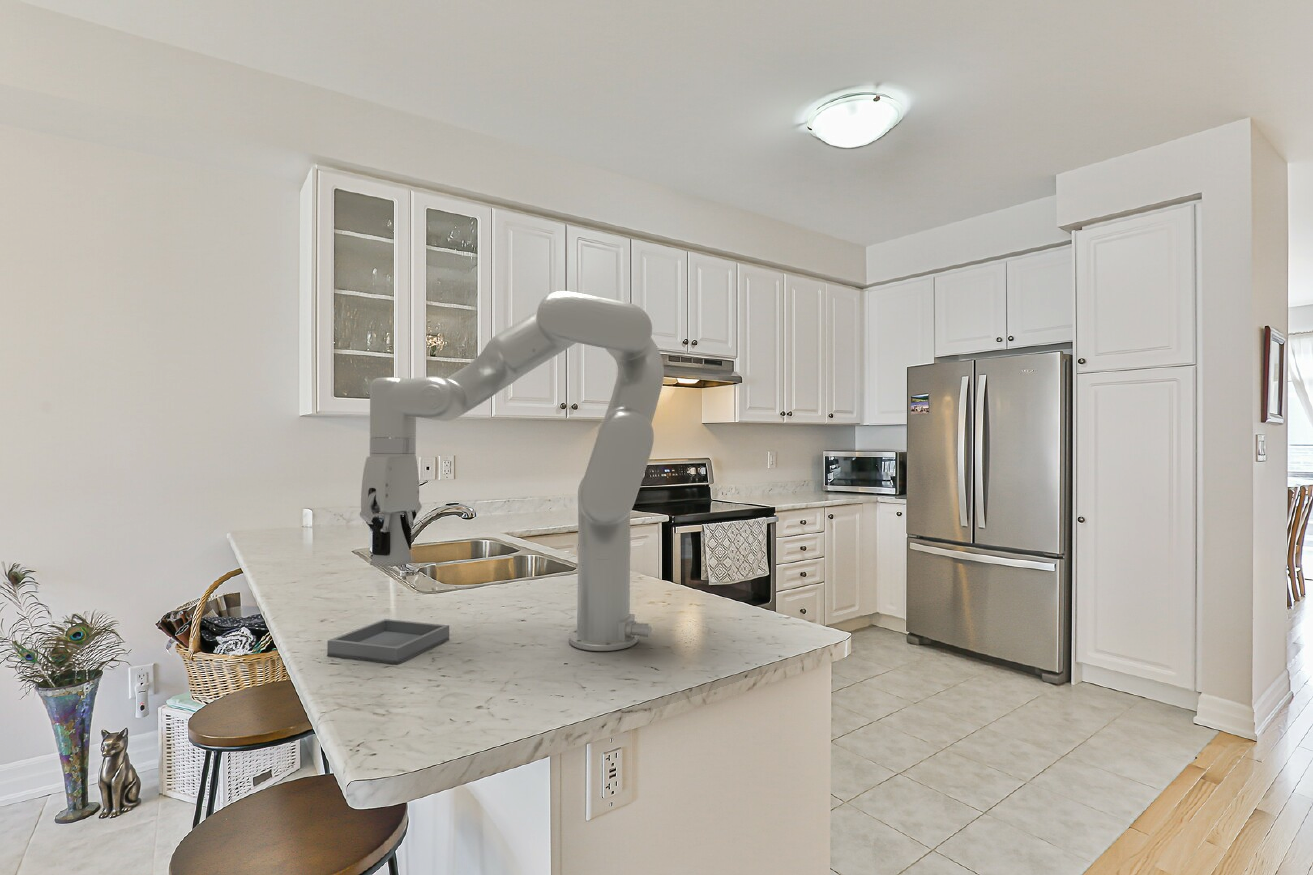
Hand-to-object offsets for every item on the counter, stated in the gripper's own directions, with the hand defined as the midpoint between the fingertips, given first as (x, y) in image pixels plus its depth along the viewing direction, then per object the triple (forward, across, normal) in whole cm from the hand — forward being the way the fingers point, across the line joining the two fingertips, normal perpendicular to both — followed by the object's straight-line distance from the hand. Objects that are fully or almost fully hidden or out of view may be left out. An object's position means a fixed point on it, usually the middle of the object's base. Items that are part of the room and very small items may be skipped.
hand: (392, 551), depth 114 cm
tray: (+17, 0, 0) cm, 17 cm away
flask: (+2, 0, 0) cm, 2 cm away
